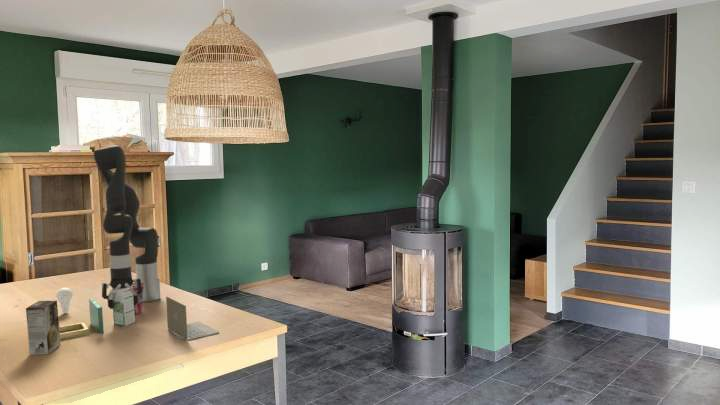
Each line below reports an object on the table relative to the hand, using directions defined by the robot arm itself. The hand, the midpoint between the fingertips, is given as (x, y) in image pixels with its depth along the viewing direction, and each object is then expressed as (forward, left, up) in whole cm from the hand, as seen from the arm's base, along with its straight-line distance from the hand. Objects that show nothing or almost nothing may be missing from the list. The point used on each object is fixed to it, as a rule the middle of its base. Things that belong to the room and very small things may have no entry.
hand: (122, 306), depth 214 cm
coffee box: (+29, +14, -7) cm, 33 cm away
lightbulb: (+16, -32, -7) cm, 36 cm away
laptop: (-18, +28, -7) cm, 34 cm away
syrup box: (0, 0, -7) cm, 7 cm away
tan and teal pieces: (+17, 0, -7) cm, 18 cm away
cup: (-7, -13, -7) cm, 16 cm away
